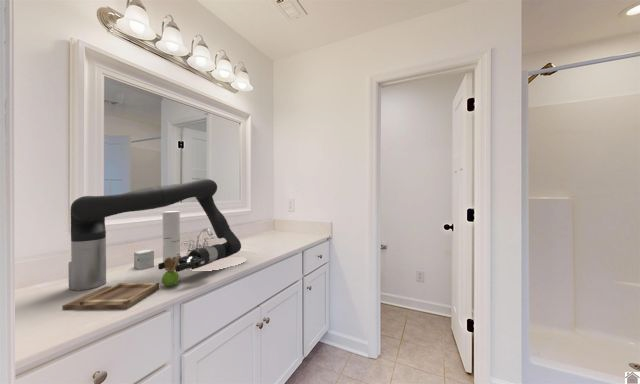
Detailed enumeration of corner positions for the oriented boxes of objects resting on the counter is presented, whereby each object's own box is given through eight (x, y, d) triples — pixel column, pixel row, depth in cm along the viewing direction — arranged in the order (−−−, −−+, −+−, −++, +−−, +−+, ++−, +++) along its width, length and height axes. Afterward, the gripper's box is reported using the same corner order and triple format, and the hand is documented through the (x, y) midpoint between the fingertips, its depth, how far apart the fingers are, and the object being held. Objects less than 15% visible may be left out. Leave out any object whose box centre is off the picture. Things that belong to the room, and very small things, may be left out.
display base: (62, 309, 70) (62, 302, 70) (105, 289, 84) (105, 283, 84) (127, 308, 70) (127, 301, 70) (159, 289, 84) (159, 282, 84)
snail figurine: (173, 289, 83) (172, 255, 83) (157, 288, 85) (157, 254, 85) (184, 283, 89) (184, 251, 89) (170, 282, 90) (170, 250, 90)
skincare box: (133, 267, 109) (133, 251, 109) (149, 264, 114) (148, 248, 114) (139, 270, 105) (138, 253, 105) (154, 266, 110) (154, 250, 110)
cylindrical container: (165, 261, 118) (165, 211, 118) (181, 260, 120) (181, 210, 120) (160, 265, 111) (160, 212, 111) (178, 264, 113) (177, 212, 113)
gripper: (190, 246, 103) (153, 255, 88) (216, 248, 98) (182, 259, 83) (190, 263, 103) (153, 276, 88) (216, 266, 98) (182, 280, 83)
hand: (167, 267), depth 85 cm, fingers open, 8 cm apart
